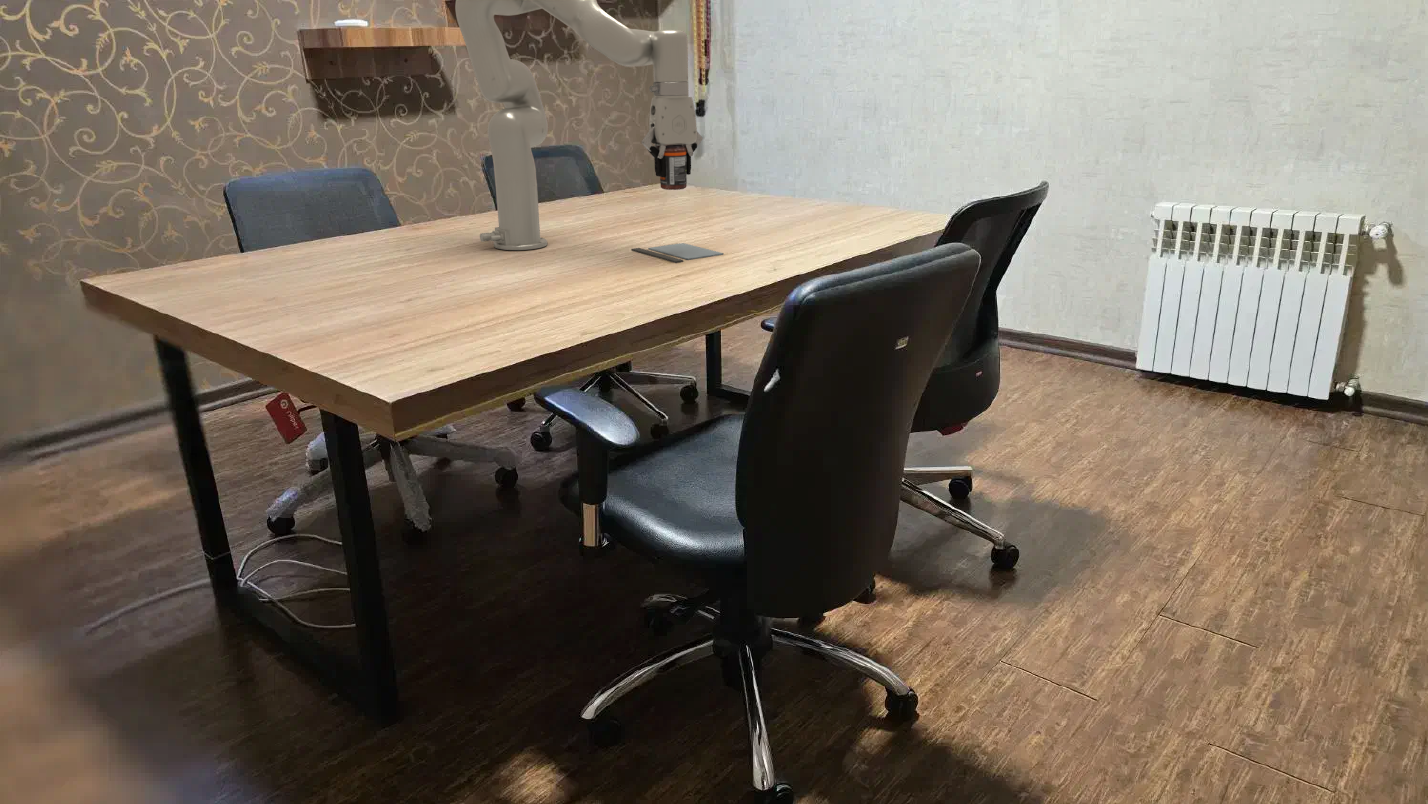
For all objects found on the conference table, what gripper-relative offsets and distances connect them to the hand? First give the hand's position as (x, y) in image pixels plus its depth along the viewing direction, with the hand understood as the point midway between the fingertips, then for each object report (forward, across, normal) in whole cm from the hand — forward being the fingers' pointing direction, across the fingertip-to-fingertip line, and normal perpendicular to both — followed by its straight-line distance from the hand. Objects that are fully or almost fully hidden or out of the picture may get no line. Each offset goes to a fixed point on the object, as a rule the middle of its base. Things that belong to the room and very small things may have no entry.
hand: (673, 174), depth 216 cm
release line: (+18, -5, 0) cm, 18 cm away
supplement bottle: (+3, 0, 0) cm, 3 cm away
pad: (+18, +3, 0) cm, 18 cm away
